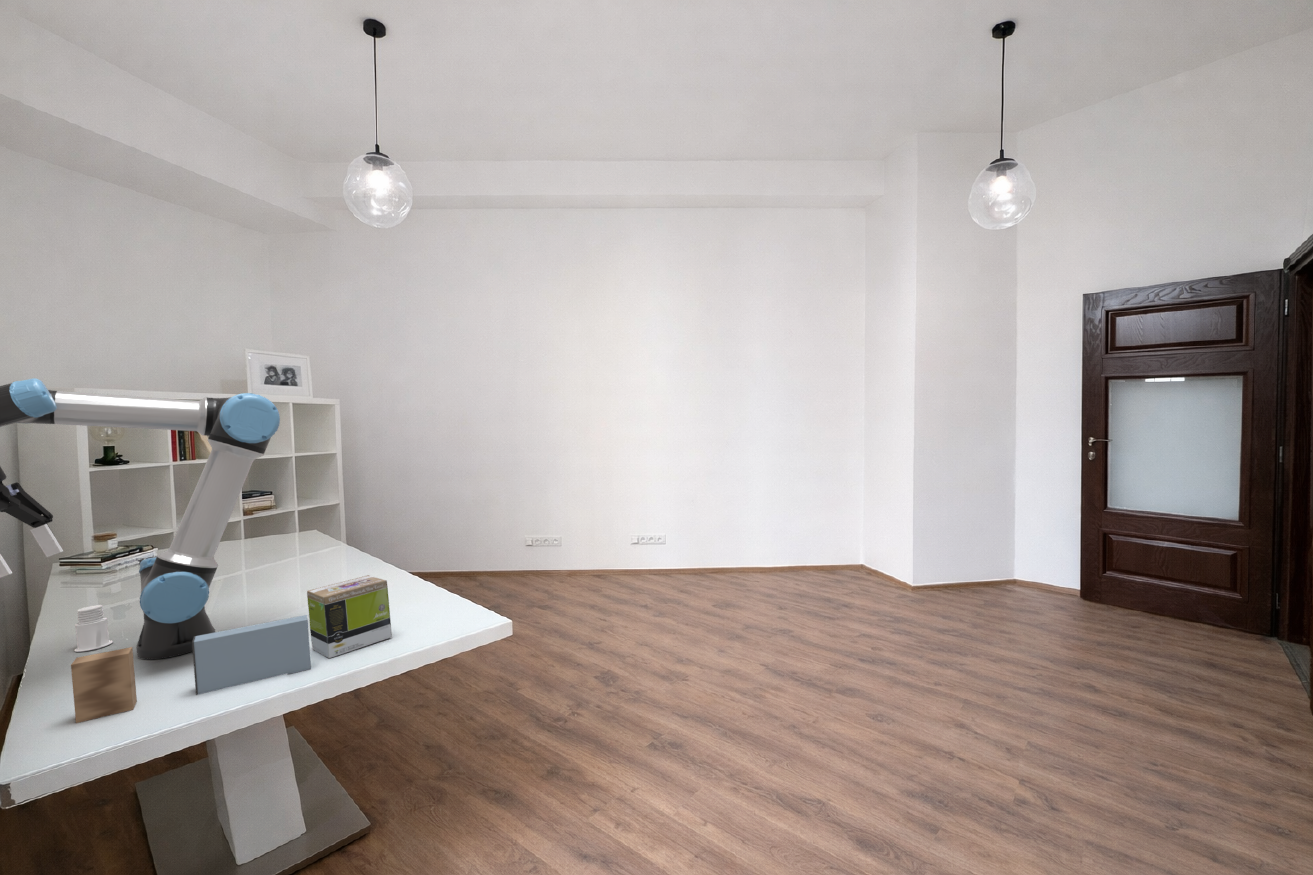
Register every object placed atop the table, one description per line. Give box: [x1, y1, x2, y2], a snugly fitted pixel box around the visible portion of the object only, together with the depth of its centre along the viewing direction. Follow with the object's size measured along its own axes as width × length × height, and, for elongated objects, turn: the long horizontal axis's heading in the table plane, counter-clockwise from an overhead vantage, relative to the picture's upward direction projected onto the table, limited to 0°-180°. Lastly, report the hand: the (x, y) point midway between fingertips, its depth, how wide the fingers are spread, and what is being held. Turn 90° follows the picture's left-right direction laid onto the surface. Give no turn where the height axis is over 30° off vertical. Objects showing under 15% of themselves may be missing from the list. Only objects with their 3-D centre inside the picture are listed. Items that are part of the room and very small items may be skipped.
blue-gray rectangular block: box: [192, 614, 312, 696], centre depth 126 cm, size 20×4×11 cm, turn 124°
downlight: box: [73, 604, 114, 653], centre depth 148 cm, size 8×7×10 cm
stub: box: [70, 646, 138, 724], centre depth 113 cm, size 8×4×11 cm, turn 124°
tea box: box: [306, 574, 393, 659], centre depth 143 cm, size 15×10×15 cm, turn 141°
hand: (30, 565), depth 119 cm, fingers open, 13 cm apart
